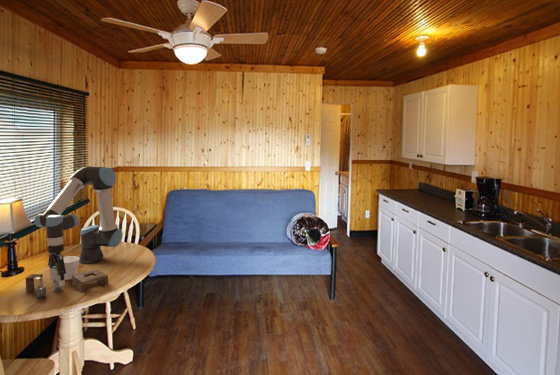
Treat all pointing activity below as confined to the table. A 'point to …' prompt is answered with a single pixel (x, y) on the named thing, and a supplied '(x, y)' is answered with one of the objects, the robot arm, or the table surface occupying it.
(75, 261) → the cup
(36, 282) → the medium pin
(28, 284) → the box
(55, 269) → the long pin
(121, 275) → the table surface
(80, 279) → the bracket
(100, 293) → the table surface
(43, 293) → the short pin
